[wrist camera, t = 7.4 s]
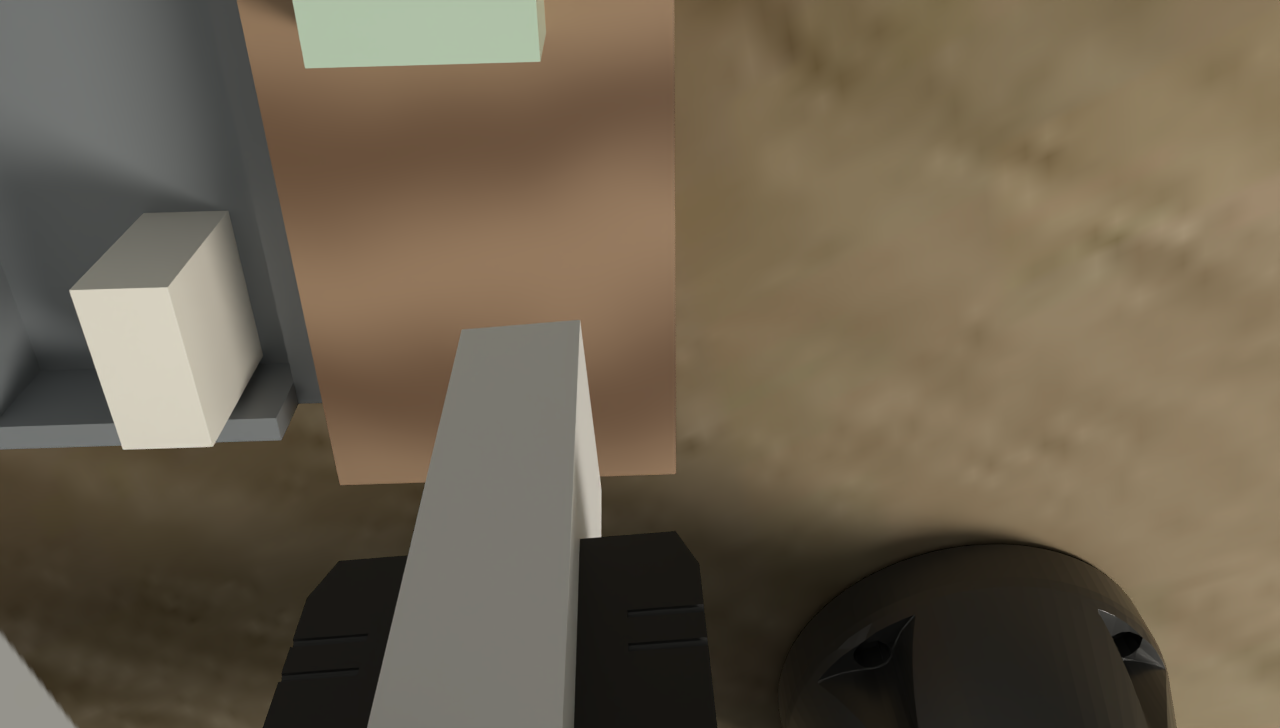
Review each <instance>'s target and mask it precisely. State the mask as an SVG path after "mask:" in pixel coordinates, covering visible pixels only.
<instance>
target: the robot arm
mask: <svg viewBox="0 0 1280 728" xmlns="http://www.w3.org/2000/svg"><path fill="white" fill-rule="evenodd" d="M601 493H602V490H601V482H600V474H599V466H598V458H597V450H596V442H595V434H594V426H593V418H592V410H591V403H590V395H589V387H588V379H587V371H586V363H585V355H584V347H583V339H582V331H581V323H580V320H571V321H559V322H547V323H535V324H523V325H511V326H499V327H487V328H475V329H463V330H461V335H460V339H459V343H458V347H457V351H456V356H455V360H454V364H453V368H452V372H451V377H450V381H449V385H448V389H447V394H446V398H445V402H444V406H443V410H442V415H441V419H440V423H439V427H438V431H437V436H436V440H435V444H434V448H433V452H432V457H431V461H430V465H429V469H428V473H427V478H426V482H425V486H424V490H423V494H422V499H421V503H420V507H419V511H418V515H417V520H416V524H415V528H414V532H413V537H412V541H411V545H410V549H409V553H408V556H396V557H384V558H371V559H359V560H346V561H339V562H338V563H337V564H336V565H335V566H334V567H333V569H332V570H331V571H330V572H329V573H328V574H327V576H326V577H325V578H324V579H323V580H322V581H321V583H320V584H319V585H318V586H317V587H316V588H315V590H314V591H313V592H312V593H311V594H310V595H309V597H308V598H307V600H306V603H305V606H304V609H303V612H302V615H301V618H300V621H299V623H298V626H297V629H296V632H295V635H294V638H293V641H294V645H293V647H290V650H289V653H288V656H287V659H286V662H285V664H284V667H283V670H282V673H281V674H282V681H281V682H278V685H277V688H276V691H275V694H274V697H273V700H272V703H271V705H270V708H269V711H268V714H267V717H266V720H265V723H264V726H263V728H717V721H716V712H715V703H714V694H713V685H712V676H711V667H710V658H709V649H708V641H707V631H706V622H705V613H704V604H703V595H702V585H701V576H700V567H699V563H698V562H697V560H696V559H695V558H694V556H693V555H692V554H691V552H690V551H689V549H688V548H687V547H686V545H685V544H684V543H683V541H682V540H681V538H680V537H679V536H678V534H677V533H676V531H672V532H660V533H647V534H635V535H622V536H609V537H601ZM778 706H779V713H780V719H781V724H782V728H1177V727H1176V720H1175V714H1174V708H1173V702H1172V696H1171V690H1170V684H1169V677H1168V672H1167V668H1166V665H1165V662H1164V659H1163V656H1162V654H1161V651H1160V649H1159V647H1158V645H1157V643H1156V641H1155V639H1154V637H1153V636H1152V634H1151V632H1150V631H1149V629H1148V627H1147V626H1146V624H1145V622H1144V621H1143V619H1142V617H1141V616H1140V614H1139V612H1138V611H1137V609H1136V607H1135V606H1134V604H1133V603H1132V601H1131V600H1130V598H1129V597H1128V596H1127V594H1126V593H1125V592H1124V591H1123V590H1122V589H1121V588H1120V587H1119V586H1118V585H1117V584H1116V583H1115V582H1114V581H1113V580H1112V579H1110V578H1109V577H1108V576H1106V575H1105V574H1104V573H1102V572H1101V571H1099V570H1097V569H1096V568H1094V567H1092V566H1090V565H1088V564H1086V563H1085V562H1083V561H1080V560H1078V559H1075V558H1073V557H1070V556H1067V555H1064V554H1061V553H1058V552H1054V551H1050V550H1046V549H1041V548H1035V547H1029V546H1020V545H1005V544H987V545H972V546H964V547H956V548H950V549H945V550H940V551H936V552H931V553H927V554H924V555H920V556H917V557H913V558H910V559H908V560H905V561H902V562H899V563H897V564H894V565H892V566H889V567H887V568H885V569H882V570H880V571H878V572H876V573H874V574H872V575H870V576H868V577H867V578H865V579H863V580H861V581H859V582H858V583H856V584H855V585H853V586H851V587H850V588H848V589H847V590H845V591H844V592H843V593H841V594H840V595H838V596H837V597H836V598H835V599H833V600H832V601H831V602H830V603H829V604H827V605H826V606H825V607H824V608H823V609H822V610H821V611H820V612H819V613H818V614H817V615H816V616H815V617H814V618H813V619H812V620H811V621H810V622H809V623H808V624H807V626H806V627H805V628H804V630H803V631H802V632H801V633H800V635H799V636H798V638H797V639H796V641H795V642H794V644H793V646H792V648H791V650H790V651H789V653H788V656H787V658H786V660H785V663H784V666H783V669H782V672H781V676H780V680H779V688H778Z"/></svg>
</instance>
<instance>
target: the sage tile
mask: <svg viewBox="0 0 1280 728" xmlns="http://www.w3.org/2000/svg"><path fill="white" fill-rule="evenodd" d="M292 1H293V6H294V12H295V17H296V22H297V28H298V33H299V39H300V44H301V49H302V55H303V60H304V65H305V68H337V67H372V66H408V65H443V64H478V63H514V62H540V61H541V56H542V51H543V46H544V41H545V36H546V24H545V8H544V0H292Z"/></svg>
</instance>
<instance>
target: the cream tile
mask: <svg viewBox="0 0 1280 728" xmlns="http://www.w3.org/2000/svg"><path fill="white" fill-rule="evenodd" d="M69 291H70V294H71V297H72V300H73V303H74V306H75V309H76V312H77V315H78V318H79V321H80V324H81V327H82V330H83V333H84V336H85V339H86V342H87V345H88V348H89V350H90V353H91V356H92V359H93V362H94V365H95V368H96V371H97V374H98V377H99V380H100V383H101V386H102V389H103V392H104V395H105V398H106V401H107V404H108V407H109V409H110V412H111V415H112V418H113V421H114V424H115V427H116V430H117V433H118V436H119V439H120V442H121V445H122V448H123V450H127V449H159V448H191V447H213V446H214V444H215V442H216V440H217V439H218V437H219V435H220V433H221V431H222V429H223V428H224V426H225V424H226V422H227V420H228V419H229V417H230V415H231V413H232V411H233V409H234V408H235V406H236V404H237V402H238V400H239V399H240V397H241V395H242V393H243V391H244V390H245V388H246V386H247V384H248V382H249V380H250V379H251V377H252V375H253V373H254V371H255V370H256V368H257V366H258V364H259V362H260V360H261V359H262V357H263V353H262V349H261V345H260V340H259V336H258V332H257V328H256V324H255V320H254V315H253V311H252V307H251V303H250V299H249V295H248V290H247V286H246V282H245V278H244V274H243V270H242V265H241V261H240V257H239V253H238V249H237V245H236V240H235V236H234V232H233V228H232V224H231V220H230V215H229V211H196V212H161V213H143V214H142V215H141V216H140V217H139V218H138V219H137V220H136V221H135V222H134V223H133V224H132V225H131V226H130V227H129V229H128V230H127V231H126V232H125V233H124V234H123V235H122V236H121V237H120V238H119V239H118V240H117V241H116V242H115V243H114V244H113V245H112V246H111V247H110V248H109V249H108V250H107V251H106V252H105V253H104V254H103V256H102V257H101V258H100V259H99V260H98V261H97V262H96V263H95V264H94V265H93V266H92V267H91V268H90V269H89V270H88V271H87V272H86V273H85V274H84V275H83V276H82V277H81V278H80V279H79V280H78V281H77V282H76V284H75V285H74V286H73V287H72V288H71V289H70V290H69Z"/></svg>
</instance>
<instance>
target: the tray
mask: <svg viewBox="0 0 1280 728" xmlns="http://www.w3.org/2000/svg"><path fill="white" fill-rule="evenodd" d="M196 211H229V215H230V220H231V224H232V228H233V232H234V236H235V240H236V245H237V249H238V253H239V257H240V261H241V265H242V270H243V274H244V278H245V282H246V286H247V290H248V295H249V299H250V303H251V307H252V311H253V315H254V320H255V324H256V328H257V332H258V336H259V340H260V345H261V349H262V353H263V357H262V359H261V360H260V362H259V364H258V366H257V368H256V370H255V371H254V373H253V375H252V377H251V379H250V380H249V382H248V384H247V386H246V388H245V390H244V391H243V393H242V395H241V397H240V399H239V400H238V402H237V404H236V406H235V408H234V409H233V411H232V413H231V415H230V417H229V419H228V420H227V422H226V424H225V426H224V428H223V429H222V431H221V433H220V435H219V437H218V439H217V440H216V442H241V441H272V440H282V438H283V436H284V434H285V431H286V429H287V427H288V425H289V423H290V421H291V418H292V416H293V414H294V412H295V410H296V408H297V405H298V404H301V403H322V398H321V394H320V389H319V384H318V380H317V375H316V370H315V366H314V361H313V356H312V352H311V347H310V342H309V337H308V333H307V328H306V323H305V319H304V314H303V309H302V305H301V300H300V295H299V291H298V286H297V281H296V276H295V272H294V267H293V262H292V258H291V253H290V248H289V244H288V239H287V234H286V230H285V225H284V220H283V215H282V211H281V206H280V201H279V197H278V192H277V187H276V183H275V178H274V173H273V169H272V164H271V159H270V154H269V150H268V145H267V140H266V136H265V131H264V126H263V122H262V117H261V112H260V108H259V103H258V98H257V93H256V89H255V84H254V79H253V75H252V70H251V65H250V61H249V56H248V51H247V47H246V42H245V37H244V32H243V28H242V23H241V18H240V14H239V9H238V4H237V0H0V449H28V448H58V447H89V446H119V445H121V442H120V439H119V436H118V433H117V430H116V427H115V424H114V421H113V418H112V415H111V412H110V409H109V407H108V404H107V401H106V398H105V395H104V392H103V389H102V386H101V383H100V380H99V377H98V374H97V371H96V368H95V365H94V362H93V359H92V356H91V353H90V350H89V348H88V345H87V342H86V339H85V336H84V333H83V330H82V327H81V324H80V321H79V318H78V315H77V312H76V309H75V306H74V303H73V300H72V297H71V294H70V291H69V290H70V289H71V288H72V287H73V286H74V285H75V284H76V282H77V281H78V280H79V279H80V278H81V277H82V276H83V275H84V274H85V273H86V272H87V271H88V270H89V269H90V268H91V267H92V266H93V265H94V264H95V263H96V262H97V261H98V260H99V259H100V258H101V257H102V256H103V254H104V253H105V252H106V251H107V250H108V249H109V248H110V247H111V246H112V245H113V244H114V243H115V242H116V241H117V240H118V239H119V238H120V237H121V236H122V235H123V234H124V233H125V232H126V231H127V230H128V229H129V227H130V226H131V225H132V224H133V223H134V222H135V221H136V220H137V219H138V218H139V217H140V216H141V215H142V214H143V213H161V212H196Z"/></svg>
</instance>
